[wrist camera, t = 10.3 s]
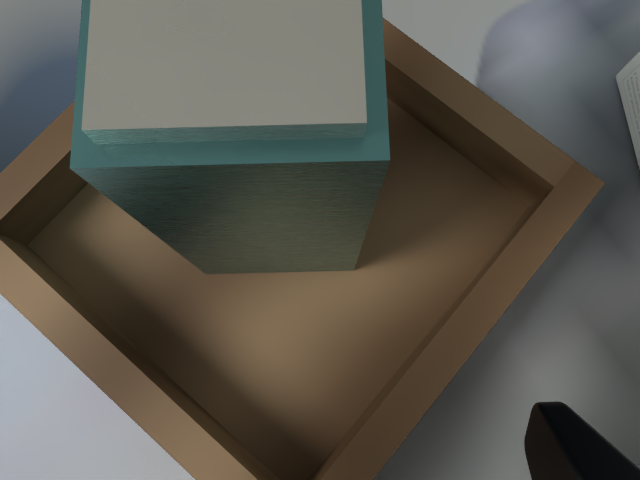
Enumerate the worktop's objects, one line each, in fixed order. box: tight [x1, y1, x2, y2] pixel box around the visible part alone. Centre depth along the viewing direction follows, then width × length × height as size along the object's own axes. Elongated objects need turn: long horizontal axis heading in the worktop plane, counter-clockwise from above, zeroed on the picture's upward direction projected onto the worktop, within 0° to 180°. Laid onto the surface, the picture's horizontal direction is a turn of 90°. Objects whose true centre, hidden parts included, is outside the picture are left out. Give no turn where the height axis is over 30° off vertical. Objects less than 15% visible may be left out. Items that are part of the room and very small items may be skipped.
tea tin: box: [70, 0, 390, 274], centre depth 13 cm, size 4×4×10 cm
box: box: [0, 17, 605, 480], centre depth 17 cm, size 13×13×3 cm
